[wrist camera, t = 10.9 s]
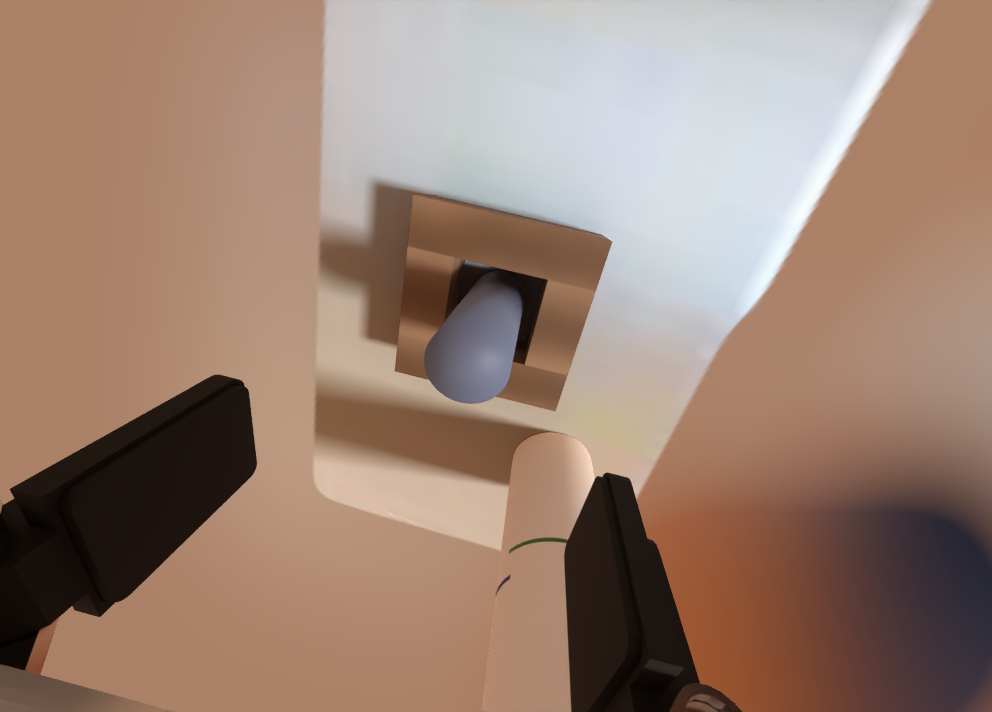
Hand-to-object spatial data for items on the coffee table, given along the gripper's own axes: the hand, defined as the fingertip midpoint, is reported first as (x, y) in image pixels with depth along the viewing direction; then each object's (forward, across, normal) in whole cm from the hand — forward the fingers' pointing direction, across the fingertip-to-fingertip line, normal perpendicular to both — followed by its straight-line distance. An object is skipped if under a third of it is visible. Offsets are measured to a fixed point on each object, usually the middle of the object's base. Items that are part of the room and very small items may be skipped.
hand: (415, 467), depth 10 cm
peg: (+19, 0, +1) cm, 19 cm away
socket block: (+19, 0, +1) cm, 19 cm away
